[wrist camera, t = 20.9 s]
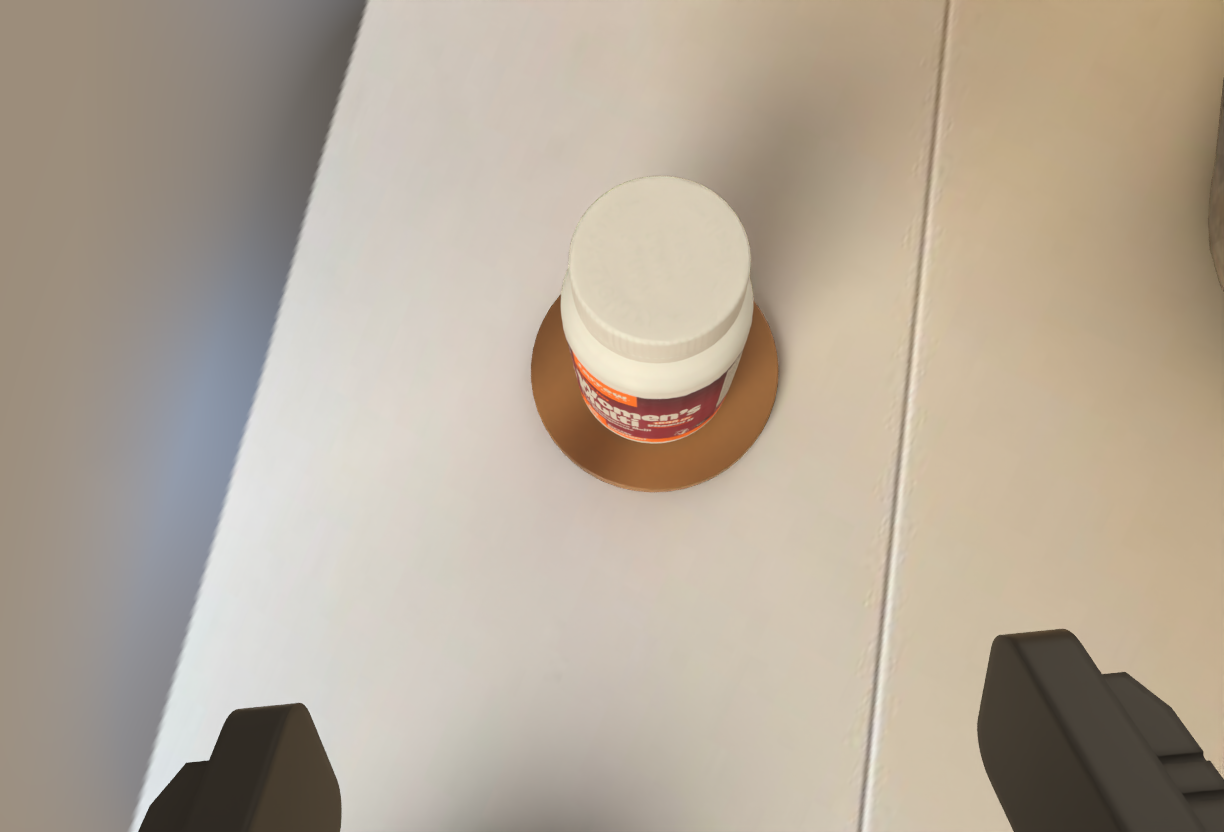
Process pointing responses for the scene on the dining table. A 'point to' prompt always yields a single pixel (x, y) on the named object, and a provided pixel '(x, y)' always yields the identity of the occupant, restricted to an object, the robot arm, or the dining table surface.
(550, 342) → the coaster
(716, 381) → the pill bottle
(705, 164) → the dining table surface
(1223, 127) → the vessel
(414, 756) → the dining table surface
